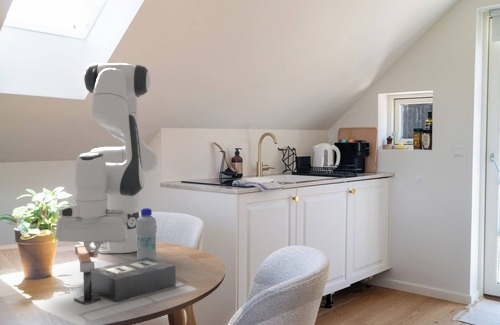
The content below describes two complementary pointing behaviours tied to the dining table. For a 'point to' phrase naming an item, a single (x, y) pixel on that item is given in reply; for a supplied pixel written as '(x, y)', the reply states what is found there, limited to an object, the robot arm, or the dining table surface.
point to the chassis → (132, 279)
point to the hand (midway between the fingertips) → (92, 256)
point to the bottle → (146, 235)
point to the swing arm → (84, 259)
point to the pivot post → (87, 291)
